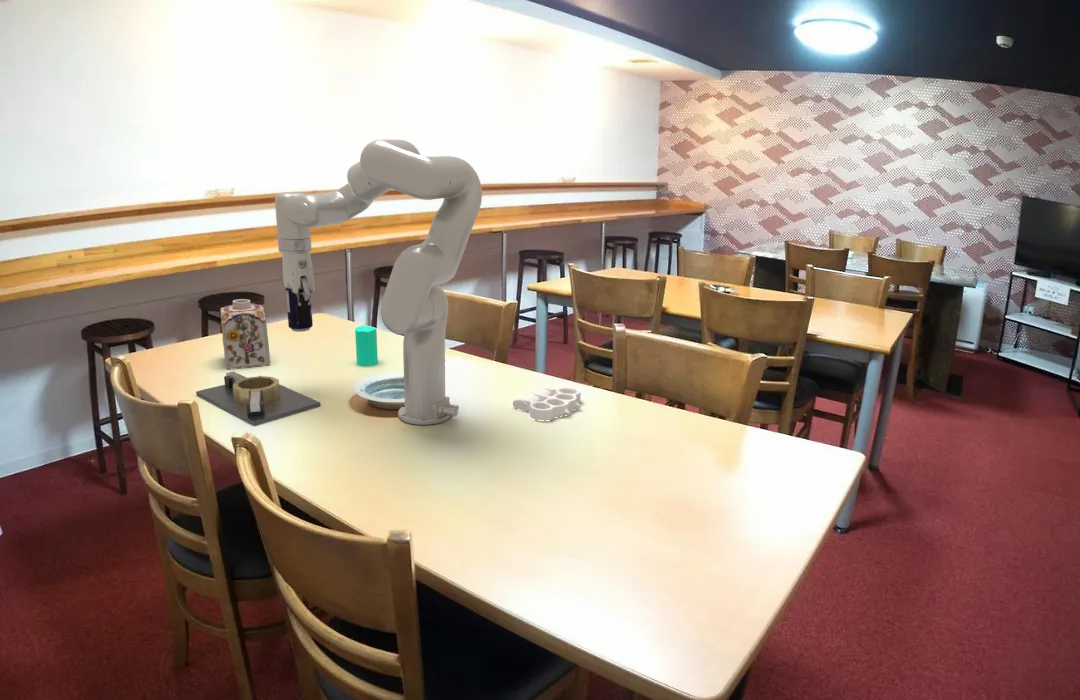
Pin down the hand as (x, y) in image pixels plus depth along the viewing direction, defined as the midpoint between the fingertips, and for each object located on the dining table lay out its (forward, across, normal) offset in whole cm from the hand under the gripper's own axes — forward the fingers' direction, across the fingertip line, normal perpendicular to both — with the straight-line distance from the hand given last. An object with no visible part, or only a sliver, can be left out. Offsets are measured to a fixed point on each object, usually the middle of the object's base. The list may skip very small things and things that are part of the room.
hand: (300, 317), depth 173 cm
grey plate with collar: (+20, 0, +12) cm, 23 cm away
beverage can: (+3, 0, 0) cm, 3 cm away
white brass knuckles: (+20, -42, -47) cm, 66 cm away
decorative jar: (+20, +33, +6) cm, 39 cm away
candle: (+20, +14, -22) cm, 33 cm away
